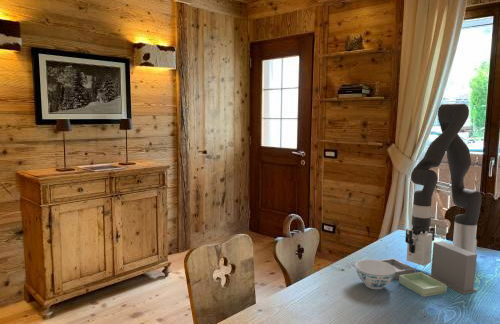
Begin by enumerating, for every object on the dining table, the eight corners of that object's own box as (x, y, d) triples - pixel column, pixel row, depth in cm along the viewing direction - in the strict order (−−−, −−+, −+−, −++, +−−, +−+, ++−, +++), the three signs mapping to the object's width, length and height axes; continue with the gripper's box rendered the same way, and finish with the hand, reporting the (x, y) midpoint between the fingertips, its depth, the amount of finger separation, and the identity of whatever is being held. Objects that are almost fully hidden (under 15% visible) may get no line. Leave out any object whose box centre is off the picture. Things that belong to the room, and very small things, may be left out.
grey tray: (393, 264, 174) (393, 258, 173) (414, 275, 161) (415, 269, 161) (373, 267, 170) (373, 260, 169) (393, 279, 158) (394, 272, 157)
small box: (431, 262, 168) (433, 233, 166) (423, 266, 164) (425, 236, 162) (413, 257, 174) (415, 229, 172) (406, 260, 170) (407, 232, 168)
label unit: (440, 274, 164) (443, 240, 162) (476, 291, 148) (480, 254, 146) (427, 276, 161) (430, 242, 160) (462, 294, 146) (466, 256, 144)
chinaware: (396, 282, 155) (397, 263, 154) (392, 297, 142) (394, 277, 141) (357, 275, 161) (358, 257, 160) (351, 289, 148) (352, 270, 147)
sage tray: (420, 278, 159) (420, 271, 158) (446, 292, 147) (446, 285, 146) (398, 282, 155) (399, 275, 155) (423, 296, 143) (424, 289, 142)
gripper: (427, 211, 172) (425, 246, 174) (401, 214, 167) (399, 250, 169) (441, 215, 165) (438, 252, 167) (414, 218, 160) (412, 256, 162)
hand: (419, 251), depth 168 cm, fingers closed on small box, 7 cm apart
